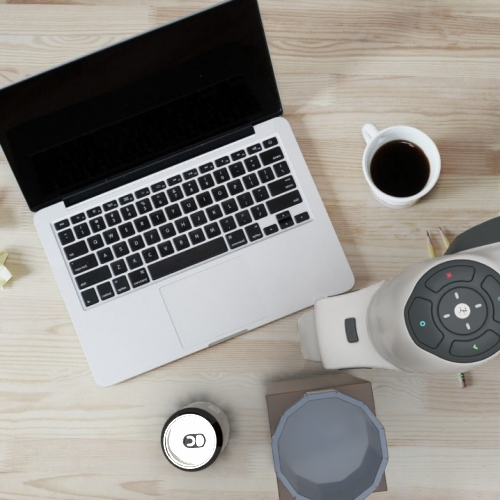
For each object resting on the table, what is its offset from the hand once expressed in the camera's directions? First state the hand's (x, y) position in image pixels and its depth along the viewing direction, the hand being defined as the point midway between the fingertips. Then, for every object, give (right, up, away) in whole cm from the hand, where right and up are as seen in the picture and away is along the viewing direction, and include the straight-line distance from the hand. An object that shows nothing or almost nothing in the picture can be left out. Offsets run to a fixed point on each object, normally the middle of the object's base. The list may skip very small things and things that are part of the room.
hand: (390, 328), depth 76 cm
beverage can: (-21, -13, +11) cm, 27 cm away
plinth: (-7, -12, +10) cm, 17 cm away
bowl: (-9, -8, -17) cm, 20 cm away
